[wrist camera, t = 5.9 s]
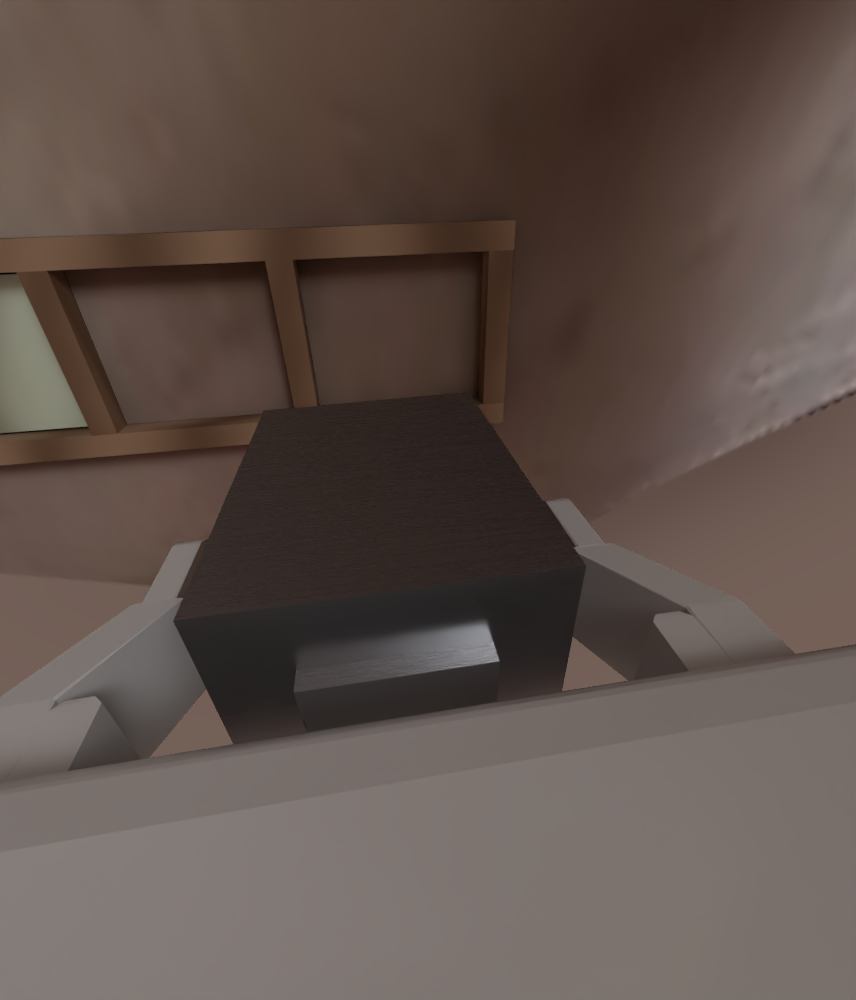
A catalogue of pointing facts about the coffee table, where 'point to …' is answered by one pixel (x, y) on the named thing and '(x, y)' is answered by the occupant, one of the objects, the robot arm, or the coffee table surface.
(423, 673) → the gray rectangular block
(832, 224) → the coffee table surface
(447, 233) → the divided wooden frame
